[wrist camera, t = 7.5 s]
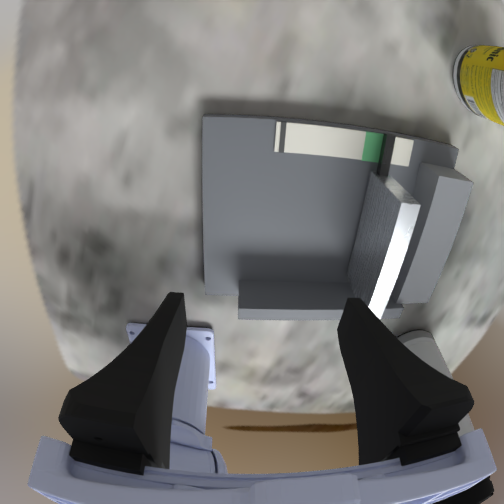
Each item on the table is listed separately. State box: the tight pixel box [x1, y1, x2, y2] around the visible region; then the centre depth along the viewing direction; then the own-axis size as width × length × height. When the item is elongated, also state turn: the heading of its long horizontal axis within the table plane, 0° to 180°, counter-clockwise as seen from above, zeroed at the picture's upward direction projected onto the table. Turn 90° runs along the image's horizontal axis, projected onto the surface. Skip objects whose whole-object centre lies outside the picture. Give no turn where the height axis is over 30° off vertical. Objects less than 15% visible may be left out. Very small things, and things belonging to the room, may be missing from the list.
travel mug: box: [397, 330, 494, 504], centre depth 22 cm, size 6×7×20 cm
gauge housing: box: [202, 114, 473, 320], centre depth 20 cm, size 13×17×4 cm
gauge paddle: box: [346, 133, 421, 319], centre depth 18 cm, size 11×1×5 cm, turn 177°
